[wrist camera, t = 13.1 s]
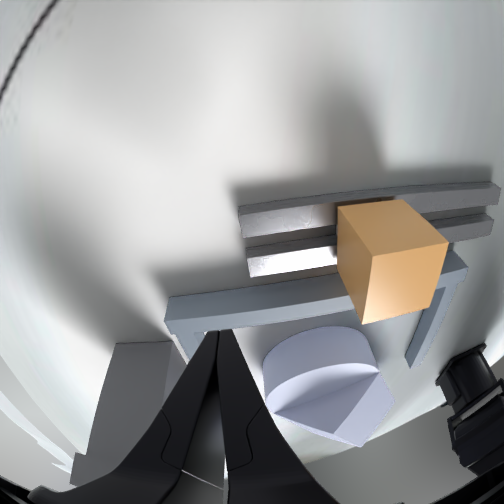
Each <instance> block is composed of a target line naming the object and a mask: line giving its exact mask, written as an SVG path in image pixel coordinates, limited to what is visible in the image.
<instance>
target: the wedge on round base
mask: <svg viewBox="0 0 504 504" xmlns="http://www.w3.org/2000/svg"><path fill="white" fill-rule="evenodd" d="M263 378H264V390H265V401H266V406H267V408H268V409H269V410H270V411H271V412H272V413H274V414H276V415H278V416H280V417H282V418H284V419H286V420H287V421H289V422H292V423H294V424H296V425H298V426H300V427H302V428H304V429H306V430H308V431H310V432H312V433H315V434H318V435H321V436H324V437H327V438H330V439H334V440H337V441H340V442H344V443H347V444H351V445H354V446H358V447H362V446H363V445H364V443H365V442H366V441H367V440H368V438H369V437H370V436H371V435H372V433H373V432H374V431H375V429H376V428H377V427H378V425H379V424H380V423H381V421H382V420H383V419H384V417H385V416H386V414H387V413H388V411H389V410H390V409H391V407H392V406H393V404H394V403H395V399H394V397H393V395H392V394H391V392H390V390H389V388H388V386H387V384H386V382H385V381H384V379H383V377H382V375H381V373H380V371H379V369H378V366H377V363H376V361H375V358H374V356H373V353H372V350H371V348H370V345H369V343H368V340H367V338H366V337H365V335H364V334H362V333H361V332H360V331H358V330H356V329H353V328H349V327H343V326H328V327H320V328H315V329H311V330H307V331H304V332H301V333H298V334H296V335H294V336H291V337H289V338H287V339H286V340H284V341H282V342H281V343H279V344H278V345H276V346H275V347H274V348H273V349H272V350H271V351H270V352H269V353H268V354H267V356H266V357H265V359H264V362H263Z"/></svg>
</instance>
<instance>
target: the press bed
mask: <svg viewBox="0 0 504 504" xmlns="http://www.w3.org/2000/svg"><path fill="white" fill-rule="evenodd" d="M468 268H469V267H468V266H467V265H466V264H465V263H464V261H463V260H462V259H461V258H460V257H459V256H458V255H457V254H456V253H455V252H454V251H449V252H446V256H445V259H444V263H443V266H442V270H441V273H440V276H439V280H438V283H437V286H436V289H435V292H434V295H433V298H432V300H431V303H430V306H429V307H428V308H425V309H424V311H423V314H422V317H421V319H420V322H419V325H418V327H417V330H416V332H415V334H414V337H413V339H412V342H411V344H410V346H409V349H408V351H407V353H406V355H405V358H406V361H407V363H408V365H409V367H410V369H411V368H414V367H417V366H419V365H421V363H422V361H423V359H424V358H425V356H426V354H427V352H428V350H429V348H430V346H431V344H432V342H433V340H434V338H435V336H436V334H437V332H438V330H439V328H440V325H441V323H442V321H443V319H444V316H445V314H446V312H447V309H448V307H449V305H450V302H451V300H452V297H453V295H454V292H455V289H456V287H457V284H458V283H459V282H463V281H464V279H465V276H466V273H467V271H468ZM352 309H355V307H354V305H353V303H352V301H351V298H350V296H349V294H348V292H347V289H346V287H345V285H344V283H343V281H342V279H341V276H340V274H339V273H336V274H330V275H324V276H318V277H312V278H306V279H300V280H293V281H287V282H280V283H274V284H267V285H260V286H253V287H246V288H239V289H232V290H225V291H217V292H209V293H201V294H193V295H185V296H177V297H170V298H169V302H168V306H167V310H166V314H165V318H164V322H165V324H166V326H167V328H168V330H169V332H170V334H176V336H177V338H178V340H179V342H180V344H181V346H182V348H183V349H184V351H185V353H186V355H187V357H188V358H189V360H191V358H192V356H193V355H194V353H195V351H196V350H197V348H198V347H199V345H200V343H201V342H202V340H203V338H204V337H205V335H204V333H203V332H206V331H212V330H222V329H234V328H242V327H250V326H258V325H265V324H272V323H279V322H285V321H292V320H298V319H304V318H310V317H315V316H321V315H327V314H332V313H337V312H342V311H347V310H352ZM186 366H187V365H186V363H185V361H184V360H183V358H182V356H181V354H180V353H179V351H178V349H177V347H176V346H175V344H174V342H173V341H166V342H147V343H116V345H115V348H114V351H113V355H112V358H111V361H110V364H109V367H108V370H107V374H106V377H105V380H104V384H103V387H102V391H101V394H100V398H99V402H98V405H97V409H96V413H95V417H94V421H93V425H92V429H91V434H90V438H89V443H88V448H87V453H86V455H83V454H79V453H75V457H74V462H73V467H72V472H71V478H70V484H72V485H75V486H77V487H79V486H81V485H83V484H86V483H88V482H90V481H93V480H95V479H97V478H99V477H102V476H104V475H106V474H108V473H109V472H111V471H112V470H114V469H115V468H116V467H117V466H118V465H119V464H120V463H121V462H122V460H123V459H124V458H125V457H126V456H127V454H128V453H129V452H130V451H131V449H132V448H133V447H134V446H135V444H136V443H137V442H138V441H139V440H140V438H141V437H142V436H143V434H144V433H145V432H146V430H147V429H148V427H149V426H150V424H151V423H152V421H153V420H154V418H155V417H156V415H157V414H158V412H159V410H160V409H161V407H162V406H163V404H164V402H165V401H166V399H167V397H168V396H169V394H170V392H171V391H172V389H173V388H174V386H175V384H176V383H177V381H178V379H179V378H180V376H181V374H182V373H183V371H184V370H185V368H186Z"/></svg>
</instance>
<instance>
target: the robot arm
mask: <svg viewBox="0 0 504 504" xmlns="http://www.w3.org/2000/svg"><path fill="white" fill-rule="evenodd" d="M486 346H487V345H486V344H485V343H484V344H482V345H480V346H478V347H476V348H474V349H472V350H470V351H468V352H465V353H463V354H461V355H459V356H457V357H454V358H453V359H452V360H451V361H450V363H449V364H448V366H447V367H446V369H445V370H444V372H443V373H442V375H441V376H440V377H439V379H438V380H437V382H436V383H435V384H436V386H439V385H440V387H441V389H442V391H443V393H444V396H445V398H446V400H447V403H448V405H449V406H451V405H452V408H453V410H454V412H455V415H453V416H451V417H449V418H448V419H447V420H448V421H447V422H448V428H449V432H450V437H451V442H452V450H453V451H455V452H456V454H457V455H458V457H459V459H460V464H461V465H462V466H463V467H465V468H468V469H469V470H470V471H472V472H473V473H475V474H476V475H477V476H478V477H476V478H475V479H474V480H472V481H470V482H469V483H467V484H465V485H464V486H462V487H460V488H458V489H457V490H455V491H453V492H452V493H450V494H448V495H446V496H444V497H442V498H440V499H438V500H436V501H434V502H432V503H430V504H504V379H502V378H500V379H499V380H498V382H497V380H496V378H495V376H494V374H493V372H492V370H491V368H490V367H489V365H488V363H487V361H486V359H485V358H484V356H483V354H482V352H483V351H484V349H485V348H486ZM501 389H502V392H501V393H500V394H497V395H496V396H495V397H494V398H492V399H491V400H490V401H488V400H489V399H490V398H491V397H493V396H494V395H495V394H496V393H497V392H499V391H500V390H501ZM486 401H488V402H487V403H486V404H485V405H483V406H482V407H481V408H480V409H478V410H477V411H475V412H474V413H473V414H471V415H470V416H469V417H467V418H465V419H464V420H463V421H462V419H463V418H464V417H466V416H467V415H469V414H470V413H471V412H473V411H474V410H476V409H477V408H478V407H480V406H481V405H482V404H484V403H485V402H486ZM225 457H226V465H227V471H228V484H229V491H228V501H227V504H340V503H339V502H338V501H337V500H336V499H335V498H334V497H333V496H332V495H331V494H330V493H329V492H328V491H326V489H325V488H324V487H322V485H321V484H319V482H318V481H317V480H316V479H315V478H314V477H313V476H312V475H311V473H310V472H309V471H308V470H307V469H306V467H305V466H304V465H303V463H302V462H301V461H300V459H299V458H298V457H297V455H296V454H295V453H294V451H293V450H292V449H291V447H290V446H289V444H288V443H287V442H286V440H285V439H284V437H283V436H282V434H281V433H280V431H279V430H278V428H277V426H276V425H275V423H274V421H273V419H272V417H271V415H270V413H269V411H268V409H267V407H266V405H265V403H264V401H263V398H262V396H261V394H260V392H259V390H258V388H257V385H256V383H255V381H254V379H253V376H252V374H251V372H250V370H249V367H248V365H247V363H246V361H245V358H244V356H243V354H242V351H241V349H240V347H239V344H238V342H237V340H236V337H235V335H234V333H233V330H232V329H222V330H220V331H219V330H212V331H208V332H207V333H206V335H205V337H204V338H203V340H202V342H201V343H200V345H199V347H198V348H197V350H196V351H195V353H194V355H193V356H192V358H191V360H190V361H189V363H188V365H187V366H186V368H185V370H184V371H183V373H182V374H181V376H180V378H179V379H178V381H177V383H176V384H175V386H174V388H173V389H172V391H171V392H170V394H169V396H168V397H167V399H166V401H165V402H164V404H163V406H162V407H161V409H160V410H159V412H158V414H157V415H156V417H155V418H154V420H153V421H152V423H151V424H150V426H149V427H148V429H147V430H146V432H145V433H144V434H143V436H142V437H141V438H140V440H139V441H138V442H137V443H136V444H135V446H134V447H133V448H132V449H131V451H130V452H129V453H128V454H127V456H126V457H125V458H124V459H123V460H122V462H121V463H120V464H119V465H118V466H117V467H116V468H115V469H114V470H112V471H111V472H109V473H108V474H106V475H104V476H102V477H99V478H97V479H95V480H93V481H90V482H88V483H86V484H83V485H81V486H79V487H76V488H74V489H72V490H69V491H65V492H58V491H55V490H53V489H50V488H47V487H45V486H42V485H41V486H39V487H37V488H35V489H34V490H32V491H31V490H29V489H27V488H25V487H22V486H20V485H18V484H16V483H14V482H12V481H10V480H8V479H6V478H4V477H2V476H1V475H0V504H223V487H224V465H225ZM395 504H404V503H403V502H399V503H395Z"/></svg>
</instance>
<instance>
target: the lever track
mask: <svg viewBox="0 0 504 504" xmlns="http://www.w3.org/2000/svg"><path fill="white" fill-rule="evenodd" d="M500 190H501V188H500V187H499V186H497V185H496V184H494V183H492V182H476V183H452V184H435V185H420V186H406V187H394V188H383V189H372V190H362V191H352V192H343V193H334V194H326V195H318V196H310V197H302V198H294V199H287V200H280V201H273V202H266V203H259V204H253V205H246V206H240V207H238V216H239V221H240V226H241V231H242V236H243V238H247V237H254V236H260V235H267V234H274V233H280V232H287V231H294V230H301V229H308V228H315V227H322V226H329V225H336V224H338V207H339V206H347V205H355V204H364V203H372V202H381V201H390V200H400V199H403V200H404V201H405V202H406V203H407V204H409V205H410V206H411V207H412V208H413V209H414V210H415V211H417V212H418V213H427V212H435V211H444V210H452V209H460V208H469V207H478V206H487V205H496V204H498V201H499V196H500ZM428 222H429V223H430V224H431V225H432V226H433V227H434V228H435V229H436V230H437V231H438V232H439V233H440V234H441V235H442V236H443V237H444V238H445V239H446V240H447V241H448V242H449V243H454V242H459V241H463V240H468V239H473V238H478V237H483V236H487V235H490V234H491V230H492V226H493V222H494V219H492V218H491V217H490V216H489V215H487V214H486V213H484V214H476V215H469V216H462V217H455V218H448V219H441V220H433V221H428ZM337 238H338V236H337V234H336V235H329V236H323V237H316V238H309V239H302V240H296V241H289V242H282V243H276V244H269V245H262V246H256V247H249V248H246V252H247V262H248V267H249V272H250V277H256V276H263V275H270V274H276V273H283V272H289V271H296V270H302V269H309V268H315V267H321V266H327V265H333V264H337Z"/></svg>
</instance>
